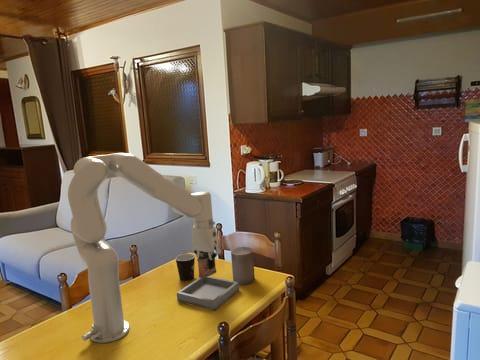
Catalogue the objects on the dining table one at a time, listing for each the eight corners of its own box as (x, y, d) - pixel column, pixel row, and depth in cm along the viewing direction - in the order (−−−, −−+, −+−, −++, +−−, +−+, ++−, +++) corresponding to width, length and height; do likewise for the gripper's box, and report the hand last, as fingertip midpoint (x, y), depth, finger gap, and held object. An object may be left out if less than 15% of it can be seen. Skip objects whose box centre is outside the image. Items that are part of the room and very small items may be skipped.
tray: (214, 310, 134) (214, 302, 134) (177, 301, 144) (176, 292, 143) (239, 290, 150) (238, 282, 149) (203, 282, 159) (203, 274, 158)
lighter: (201, 279, 141) (199, 254, 140) (197, 276, 144) (194, 252, 142) (218, 272, 147) (216, 248, 145) (213, 270, 149) (211, 247, 147)
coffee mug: (186, 272, 170) (185, 252, 168) (200, 276, 165) (198, 255, 163) (168, 282, 161) (166, 261, 159) (182, 286, 156) (180, 264, 154)
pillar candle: (256, 275, 163) (253, 243, 160) (253, 285, 153) (251, 251, 151) (234, 275, 164) (232, 244, 162) (231, 285, 155) (228, 251, 152)
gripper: (226, 222, 141) (229, 266, 144) (192, 218, 149) (195, 260, 152) (215, 228, 134) (219, 274, 137) (180, 223, 143) (184, 267, 146)
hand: (207, 266), depth 145 cm, fingers closed on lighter, 4 cm apart
